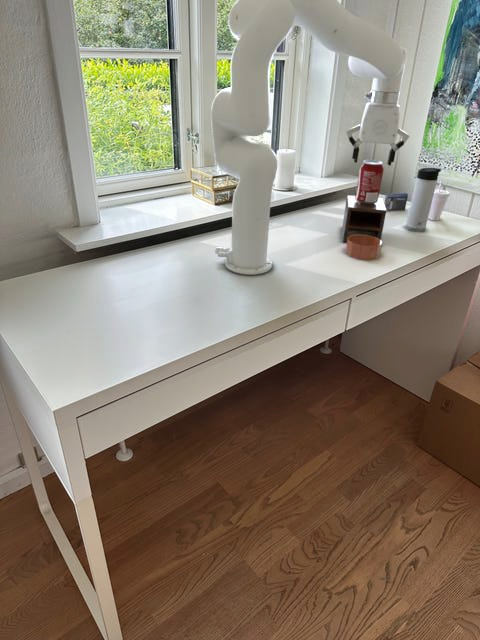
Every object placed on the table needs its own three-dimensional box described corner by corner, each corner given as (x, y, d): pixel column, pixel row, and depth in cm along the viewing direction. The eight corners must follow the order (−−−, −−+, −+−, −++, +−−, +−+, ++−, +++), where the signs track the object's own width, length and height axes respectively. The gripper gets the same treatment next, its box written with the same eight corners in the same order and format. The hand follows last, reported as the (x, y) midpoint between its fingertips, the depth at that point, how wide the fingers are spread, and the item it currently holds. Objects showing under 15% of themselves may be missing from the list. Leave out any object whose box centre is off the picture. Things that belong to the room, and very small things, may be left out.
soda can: (379, 206, 140) (387, 164, 134) (357, 205, 140) (363, 163, 134) (374, 199, 146) (381, 159, 140) (352, 198, 146) (359, 158, 140)
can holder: (346, 257, 133) (348, 244, 131) (345, 245, 142) (347, 233, 140) (380, 261, 132) (383, 247, 130) (377, 248, 140) (380, 236, 138)
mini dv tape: (384, 210, 174) (388, 194, 171) (382, 209, 175) (386, 193, 172) (404, 210, 175) (408, 194, 172) (402, 208, 177) (406, 192, 174)
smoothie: (422, 215, 171) (431, 176, 163) (440, 216, 170) (450, 177, 163) (426, 220, 165) (435, 180, 158) (444, 222, 164) (455, 182, 157)
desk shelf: (342, 242, 144) (348, 207, 138) (342, 228, 155) (347, 195, 149) (379, 245, 143) (386, 210, 137) (376, 231, 154) (382, 198, 148)
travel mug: (422, 233, 154) (437, 171, 143) (402, 228, 157) (416, 167, 147) (428, 228, 158) (443, 167, 148) (409, 224, 161) (423, 164, 151)
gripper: (352, 97, 126) (342, 163, 135) (418, 102, 124) (404, 168, 133) (351, 95, 133) (341, 158, 141) (414, 99, 131) (400, 163, 139)
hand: (372, 163), depth 137 cm, fingers open, 9 cm apart
